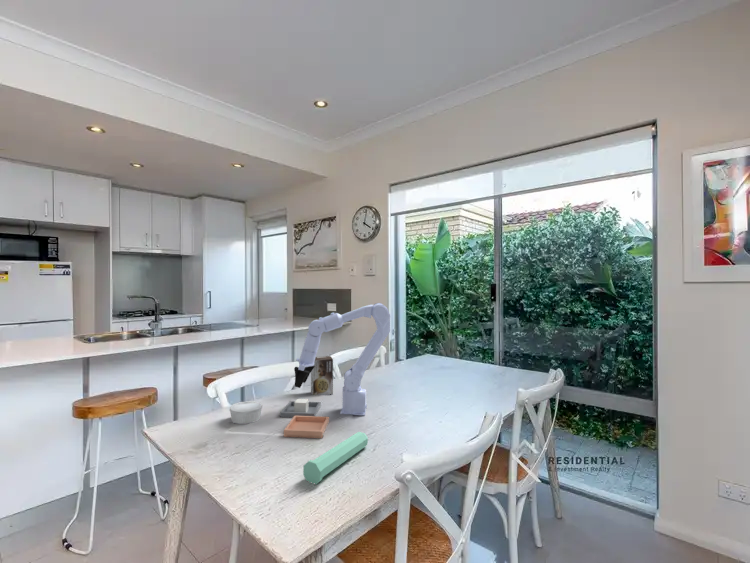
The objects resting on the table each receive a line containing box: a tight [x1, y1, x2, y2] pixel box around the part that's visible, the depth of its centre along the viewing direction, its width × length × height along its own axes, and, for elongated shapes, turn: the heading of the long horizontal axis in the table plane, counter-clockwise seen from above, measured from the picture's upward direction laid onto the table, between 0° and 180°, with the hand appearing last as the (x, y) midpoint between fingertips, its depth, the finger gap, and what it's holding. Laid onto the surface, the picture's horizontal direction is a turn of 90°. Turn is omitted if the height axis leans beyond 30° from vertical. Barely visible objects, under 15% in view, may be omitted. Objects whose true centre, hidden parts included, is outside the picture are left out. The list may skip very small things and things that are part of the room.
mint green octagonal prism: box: [302, 431, 369, 485], centre depth 103 cm, size 6×6×25 cm
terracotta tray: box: [283, 415, 330, 439], centre depth 124 cm, size 13×13×2 cm
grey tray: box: [279, 400, 322, 418], centre depth 139 cm, size 13×13×2 cm
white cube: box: [294, 398, 310, 413], centre depth 139 cm, size 4×4×4 cm
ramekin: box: [229, 400, 263, 425], centre depth 131 cm, size 11×11×5 cm
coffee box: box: [310, 355, 334, 396], centre depth 163 cm, size 9×6×16 cm
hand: (300, 384), depth 140 cm, fingers open, 7 cm apart
